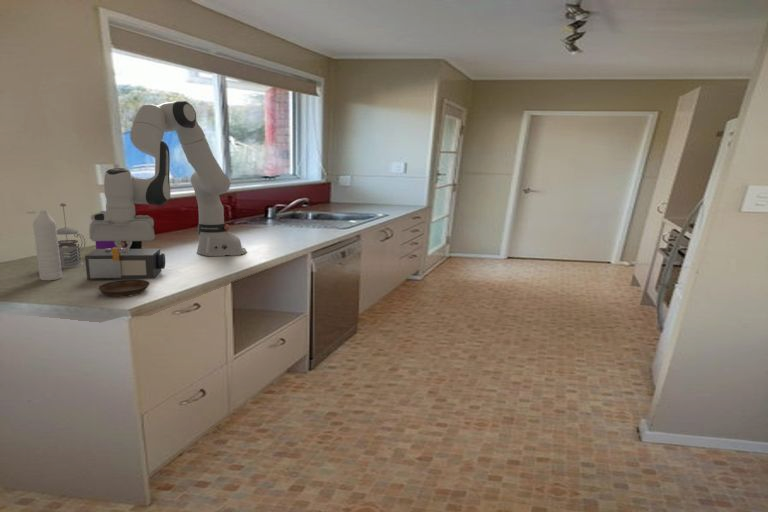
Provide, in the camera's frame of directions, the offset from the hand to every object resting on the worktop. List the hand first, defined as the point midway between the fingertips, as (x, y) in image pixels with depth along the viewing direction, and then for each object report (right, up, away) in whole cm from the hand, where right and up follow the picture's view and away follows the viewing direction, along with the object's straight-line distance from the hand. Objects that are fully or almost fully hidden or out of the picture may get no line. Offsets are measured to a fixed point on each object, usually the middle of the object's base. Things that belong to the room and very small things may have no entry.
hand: (124, 253), depth 159 cm
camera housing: (-4, -8, +8) cm, 13 cm away
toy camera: (-29, 0, +42) cm, 51 cm away
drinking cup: (-12, -4, +29) cm, 31 cm away
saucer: (+7, -14, -11) cm, 19 cm away
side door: (-7, -9, 0) cm, 11 cm away
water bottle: (-27, -10, -1) cm, 28 cm away
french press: (-33, -5, +19) cm, 38 cm away
